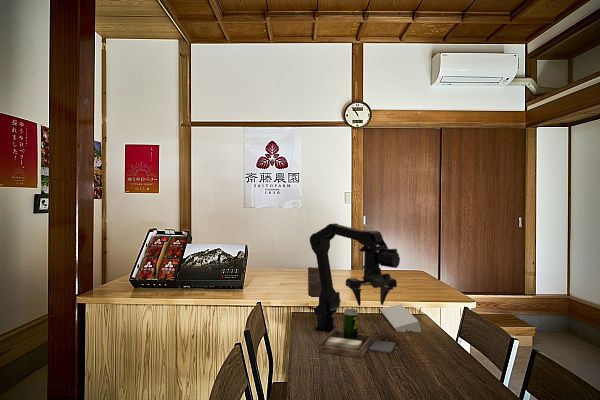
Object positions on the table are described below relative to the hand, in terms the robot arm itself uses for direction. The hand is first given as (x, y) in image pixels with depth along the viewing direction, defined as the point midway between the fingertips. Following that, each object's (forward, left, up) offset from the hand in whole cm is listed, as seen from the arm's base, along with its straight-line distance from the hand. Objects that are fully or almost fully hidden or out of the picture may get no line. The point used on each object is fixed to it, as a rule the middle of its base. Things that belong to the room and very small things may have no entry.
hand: (370, 305), depth 170 cm
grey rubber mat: (+6, -6, -13) cm, 16 cm away
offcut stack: (-6, -15, -13) cm, 21 cm away
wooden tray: (-6, -10, -13) cm, 18 cm away
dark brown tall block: (-35, +37, -14) cm, 53 cm away
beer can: (-6, -6, -14) cm, 16 cm away
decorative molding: (+5, +32, -14) cm, 35 cm away
